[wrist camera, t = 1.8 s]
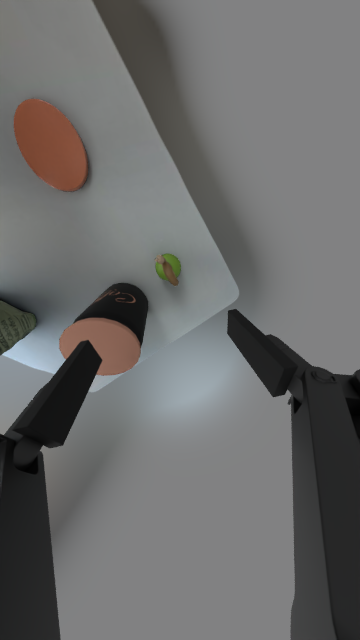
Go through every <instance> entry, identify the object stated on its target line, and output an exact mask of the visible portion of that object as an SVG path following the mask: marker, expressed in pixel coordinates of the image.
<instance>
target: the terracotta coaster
mask: <svg viewBox="0 0 360 640" xmlns="http://www.w3.org/2000/svg"><path fill="white" fill-rule="evenodd" d="M14 132H15V137H16V140H17V144H18V146H19V149H20V151H21V153H22V155H23V157H24V159H25V160H26V162H27V163H28V165H29V166H30V168H31V169H32V170H33V171H34V172H35V173H36V174H37V176H38V177H40V178H41V179H42V180H43V181H44V182H46V183H47V184H49V185H50V186H52V187H54V188H56V189H58V190H61V191H65V192H72V191H76V190H78V189H80V188H81V187H82V186H83V185H84V183H85V181H86V179H87V175H88V158H87V154H86V150H85V147H84V145H83V142H82V140H81V138H80V136H79V134H78V133H77V131H76V129H75V128H74V127H73V125H72V124H71V123H70V121H69V120H68V119H67V118H66V117H65V115H64V114H63V113H62V112H61V111H59V110H58V109H57V108H56V107H54V106H53V105H51V104H50V103H48V102H45V101H43V100H40V99H28V100H25V101H23V102H22V103H21V104H20V105H19V106H18V108H17V110H16V112H15V116H14Z"/></svg>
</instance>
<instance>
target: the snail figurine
mask: <svg viewBox="0 0 360 640" xmlns="http://www.w3.org/2000/svg"><path fill="white" fill-rule="evenodd" d="M155 261H157V262H156V272H157V274H158V275H159V277H160V278H162V279H163V280H166V281H169V282H170V283H171V284H173V285H174V286H177V285H178V283H179V282H178V280H177V277H178V275H179V274H180V271H181V264H180V261H179V260H178V258H177V257H176V256H174V255H172V254H164V255H157V257H156V258H155Z"/></svg>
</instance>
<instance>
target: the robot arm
mask: <svg viewBox="0 0 360 640" xmlns="http://www.w3.org/2000/svg"><path fill="white" fill-rule="evenodd" d="M227 334H228V335H229V336H230V338H231V339H232V341H233V342H234V343H235V345H236V346H237V348H238V349H239V350H240V352H241V353H242V355H243V356H244V357H245V359H246V360H247V362H248V363H249V364H250V365H251V367H252V368H253V370H254V371H255V373H256V374H257V376H258V377H259V378H260V380H261V381H262V382H263V384H264V385H265V387H266V388H267V389H268V391H269V392H270V394H271V395H272V396H273V397H276V396H281V395H285V393H286V391H287V389H288V390H289V391H290V393H291V394H292V395H291V397H290V399H289V401H288V404H289V405H290V404H291V421H292V469H293V515H294V561H295V596H294V601H293V605H292V610H291V640H360V370H357V371H356V372H355V373H354V374H353V375H340V374H332V373H331V372H329V371H327V370H325V369H323V368H320V367H314V366H312V365H310V364H309V363H308V362H306V361H305V360H304V359H303V358H302V357H300V356H299V355H298V354H297V353H296V352H294V351H293V350H292V349H291V348H289V346H287V345H286V344H284V342H282V341H281V340H280V339H279V338H277V337H275V336H273V335H271V334H270V335H264V334H263V333H262V332H261V331H260V330H259V329H257V328H256V327H255V326H254V325H253V324H252V323H251V322H250V321H249V320H247V318H245V317H244V316H243V315H242V314H241V313H240V312H239V311H238V310H237V309H234V310H229V311H228V331H227ZM102 361H103V360H102V358H101V357H100V355H99V354H98V353H97V351H96V350H95V348H94V347H93V345H92V344H91V342H90V341H89V340H85V341H80V343H79V344H78V345H77V346H76V348H75V349H74V350H73V352H72V353H71V354H70V355H69V357H68V358H67V359H66V361H65V362H64V363H63V365H62V366H61V367H60V368H59V370H58V371H57V372H56V374H55V375H54V376H53V378H52V379H51V380H50V381H49V383H47V384H46V385H45V386H44V387H43V388H41V389H40V390H39V392H38V393H37V394H36V395H35V397H34V398H33V400H31V402H30V403H29V404H28V407H26V408H25V409H24V411H23V412H22V413H21V414H20V415H19V417H18V418H17V419H16V421H15V422H14V423H13V424H12V426H11V427H10V428H9V429H8V431H7V432H6V433H5V434H4V435H1V434H0V640H60V629H59V619H58V608H57V598H56V587H55V577H54V567H53V556H52V545H51V534H50V525H49V515H48V503H47V494H46V483H45V471H44V461H43V454H42V452H41V451H40V449H41V447H42V446H43V445H44V446H46V447H48V448H53V447H58V446H62V445H63V444H64V442H65V440H66V438H67V435H68V433H69V431H70V429H71V427H72V425H73V423H74V420H75V418H76V416H77V414H78V412H79V410H80V408H81V406H82V403H83V401H84V399H85V397H86V395H87V393H88V391H89V388H90V386H91V384H92V382H93V380H94V378H95V376H96V374H97V371H98V369H99V367H100V365H101V363H102Z"/></svg>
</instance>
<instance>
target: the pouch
mask: <svg viewBox="0 0 360 640" xmlns="http://www.w3.org/2000/svg"><path fill="white" fill-rule="evenodd" d="M35 327H36V319H35V315H33V314H32V313H27V312H23V311H21V310H19V309H17V308H15V307H13V306H11V305H9V304H7V303H5V302H3V301H1V300H0V355H2V354H3V353H4V352H6V351H7V350H9V349H11V348H12V347H13V346H14V345H15V344H16V343H17V342H18V341H19V340H21V339H23V338H24V337H25V336H27V335H28V334H29V333H30V332H31V331H32V330H33V329H34V328H35Z"/></svg>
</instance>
